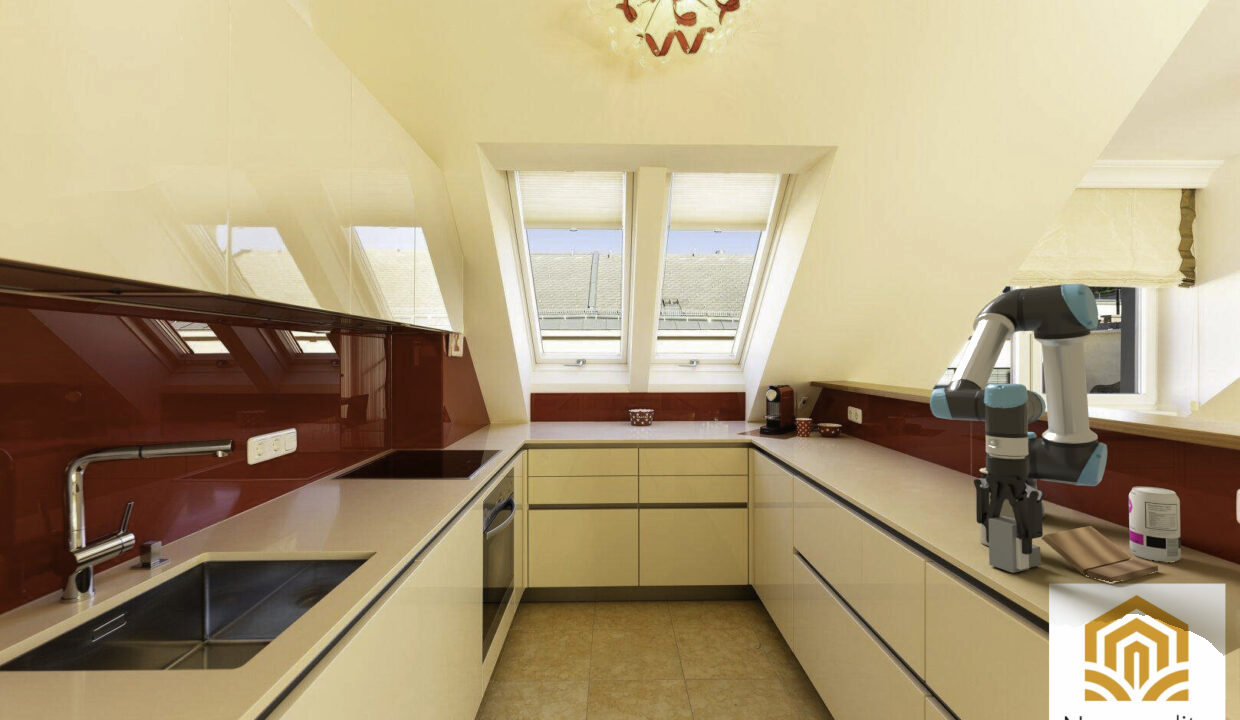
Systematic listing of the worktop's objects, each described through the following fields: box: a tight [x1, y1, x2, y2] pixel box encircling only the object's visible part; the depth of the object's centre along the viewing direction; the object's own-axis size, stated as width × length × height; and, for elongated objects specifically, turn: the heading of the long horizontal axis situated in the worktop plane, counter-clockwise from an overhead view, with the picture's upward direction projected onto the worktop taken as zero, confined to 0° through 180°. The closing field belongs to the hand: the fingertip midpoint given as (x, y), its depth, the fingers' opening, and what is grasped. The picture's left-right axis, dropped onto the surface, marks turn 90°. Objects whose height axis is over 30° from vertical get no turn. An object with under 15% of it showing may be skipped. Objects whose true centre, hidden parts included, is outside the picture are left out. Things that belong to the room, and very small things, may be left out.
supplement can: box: [1128, 486, 1182, 563], centre depth 123 cm, size 8×8×15 cm
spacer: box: [988, 516, 1041, 574], centre depth 118 cm, size 10×5×10 cm, turn 111°
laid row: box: [1083, 558, 1159, 582], centre depth 114 cm, size 16×5×1 cm, turn 111°
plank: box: [1040, 525, 1132, 575], centre depth 120 cm, size 16×9×1 cm
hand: (1008, 563), depth 118 cm, fingers closed on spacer, 5 cm apart
